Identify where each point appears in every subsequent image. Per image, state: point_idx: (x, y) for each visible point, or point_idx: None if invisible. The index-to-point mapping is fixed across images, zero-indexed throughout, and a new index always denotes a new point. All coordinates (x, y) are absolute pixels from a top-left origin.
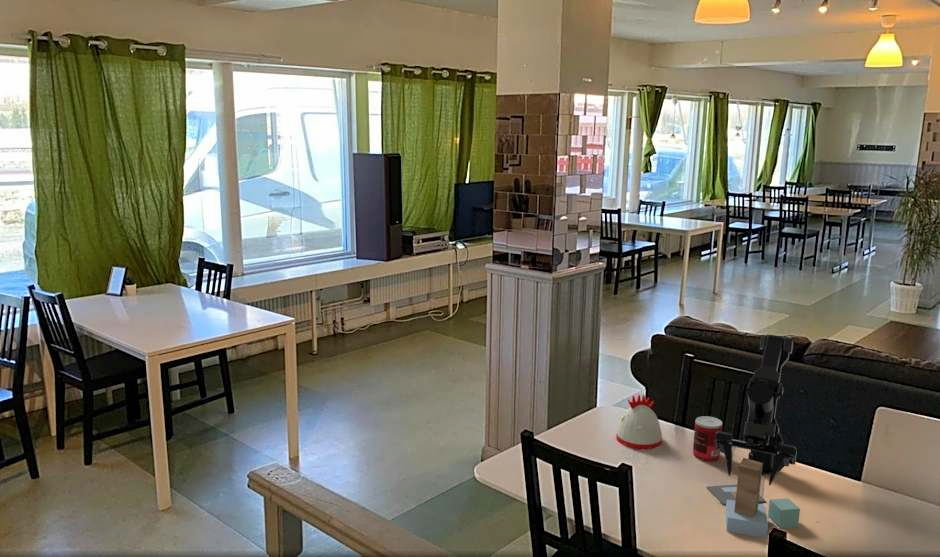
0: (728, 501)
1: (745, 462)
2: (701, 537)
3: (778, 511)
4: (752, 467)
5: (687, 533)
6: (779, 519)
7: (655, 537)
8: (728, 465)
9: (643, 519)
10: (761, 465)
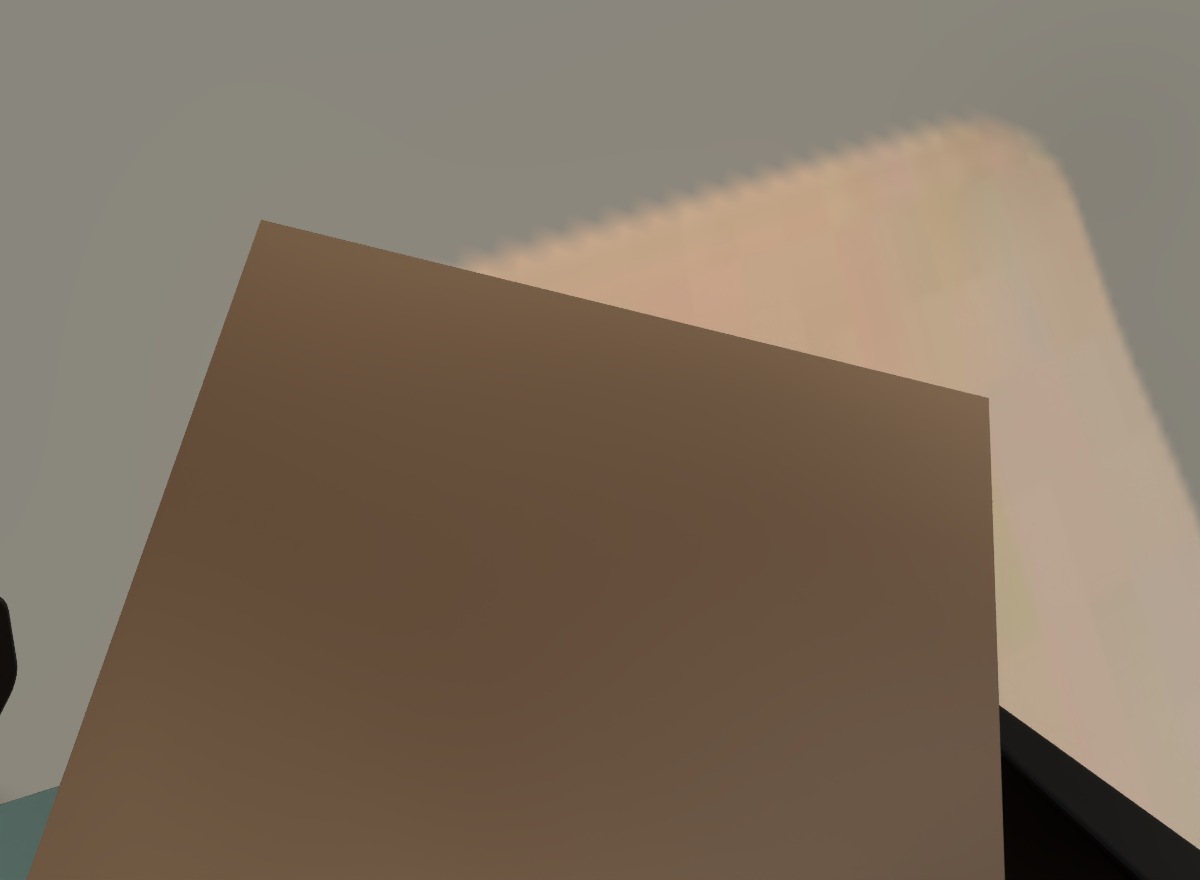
0: None
1: (841, 768)
2: (766, 331)
3: (13, 860)
4: (525, 393)
5: (862, 351)
6: (40, 802)
7: (1017, 237)
8: (1141, 827)
9: (1152, 427)
10: (55, 805)
